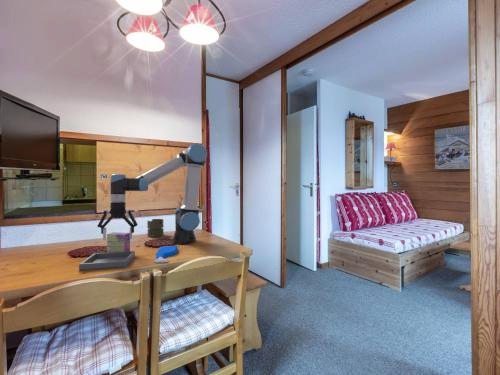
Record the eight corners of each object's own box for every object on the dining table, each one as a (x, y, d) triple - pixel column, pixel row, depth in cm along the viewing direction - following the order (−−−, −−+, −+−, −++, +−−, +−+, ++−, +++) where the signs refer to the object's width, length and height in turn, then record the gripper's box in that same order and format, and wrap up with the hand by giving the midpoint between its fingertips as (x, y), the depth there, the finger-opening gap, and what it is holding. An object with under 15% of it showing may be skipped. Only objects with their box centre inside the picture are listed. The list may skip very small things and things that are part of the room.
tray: (134, 256, 138) (134, 251, 138) (125, 267, 121) (125, 261, 121) (94, 258, 134) (94, 253, 134) (79, 270, 117) (79, 264, 117)
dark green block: (144, 220, 185) (153, 218, 196) (144, 237, 186) (153, 234, 197) (157, 221, 183) (166, 219, 194) (157, 238, 183) (166, 234, 194)
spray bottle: (160, 246, 151) (148, 259, 127) (179, 245, 152) (171, 258, 128) (160, 250, 151) (148, 265, 127) (179, 250, 152) (171, 264, 128)
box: (130, 252, 145) (130, 232, 145) (124, 255, 140) (124, 234, 139) (113, 252, 147) (113, 232, 146) (106, 255, 141) (106, 234, 140)
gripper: (90, 202, 136) (90, 241, 136) (140, 202, 141) (140, 240, 142) (96, 201, 143) (96, 238, 144) (143, 201, 149) (142, 237, 149)
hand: (117, 239), depth 143 cm, fingers open, 13 cm apart
